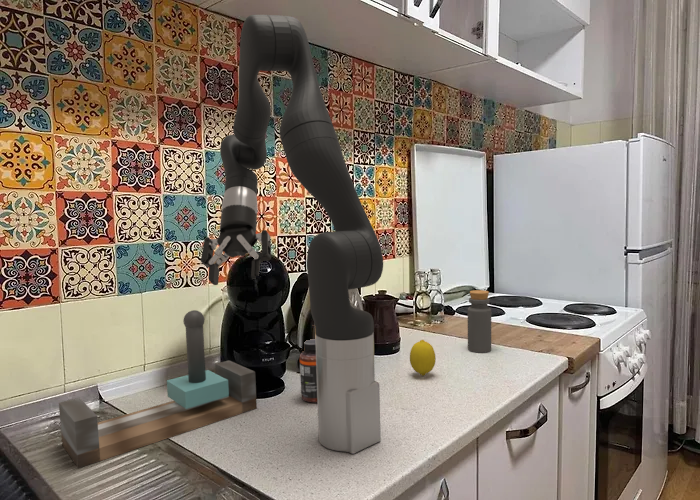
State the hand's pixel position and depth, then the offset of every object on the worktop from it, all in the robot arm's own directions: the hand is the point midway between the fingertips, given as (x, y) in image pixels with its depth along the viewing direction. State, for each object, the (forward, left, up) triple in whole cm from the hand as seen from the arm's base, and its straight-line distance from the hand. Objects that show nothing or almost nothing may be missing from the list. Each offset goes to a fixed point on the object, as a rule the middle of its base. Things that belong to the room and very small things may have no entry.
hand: (234, 281), depth 98 cm
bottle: (-19, -58, -23) cm, 65 cm away
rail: (-5, +17, -23) cm, 29 cm away
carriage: (-5, +11, -19) cm, 23 cm away
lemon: (-21, -33, -23) cm, 45 cm away
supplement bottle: (-14, -9, -23) cm, 28 cm away
